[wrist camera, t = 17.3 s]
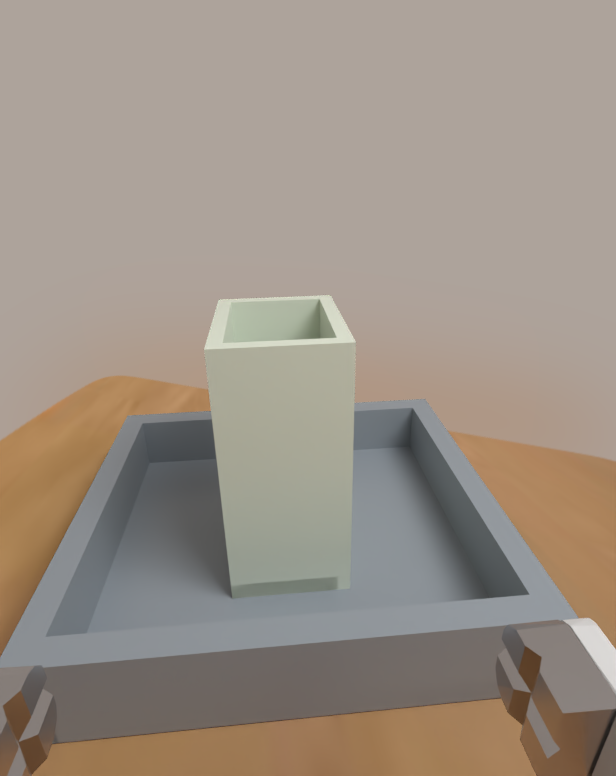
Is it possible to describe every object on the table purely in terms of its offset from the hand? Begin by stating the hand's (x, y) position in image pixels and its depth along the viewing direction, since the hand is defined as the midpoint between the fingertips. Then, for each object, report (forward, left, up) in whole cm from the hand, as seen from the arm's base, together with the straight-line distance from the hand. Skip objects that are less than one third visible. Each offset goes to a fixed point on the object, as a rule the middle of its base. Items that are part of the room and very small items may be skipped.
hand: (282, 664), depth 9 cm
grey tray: (+1, +15, -11) cm, 18 cm away
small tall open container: (0, +14, -10) cm, 17 cm away
